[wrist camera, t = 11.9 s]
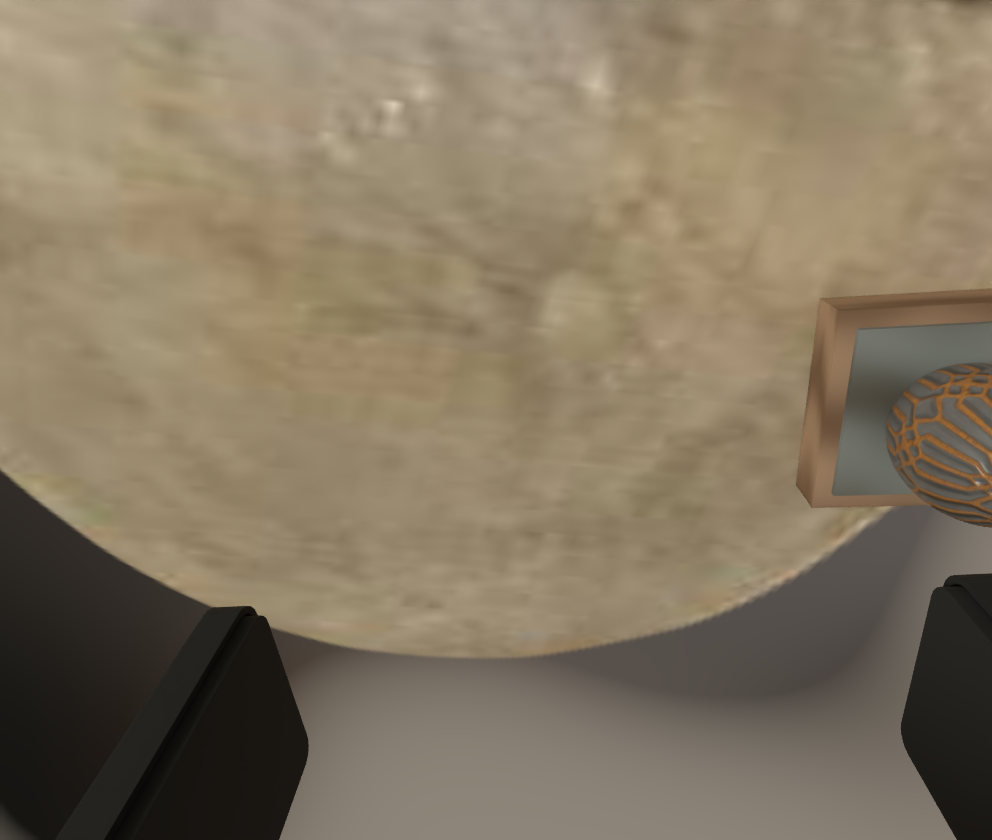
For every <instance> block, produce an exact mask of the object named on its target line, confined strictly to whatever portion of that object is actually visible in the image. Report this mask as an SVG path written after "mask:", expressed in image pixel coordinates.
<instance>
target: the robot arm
mask: <svg viewBox="0 0 992 840" xmlns="http://www.w3.org/2000/svg"><path fill="white" fill-rule="evenodd" d="M901 735H902V739H903V743H904V746H905V748H906V751H907V753H908V755H909V757H910V758H911V760H912V762H913V764H914V765H915V767H916V769H917V771H918V772H919V774H920V776H921V778H922V779H923V781H924V783H925V785H926V786H927V788H928V790H929V792H930V794H931V795H932V797H933V799H934V801H935V802H936V804H937V806H938V808H939V809H940V811H941V813H942V814H943V816H944V818H945V820H946V821H947V823H948V825H949V827H950V829H951V830H952V832H953V834H954V836H955V837H956V839H957V840H992V574H971V575H953V576H950V577H948V578H947V579H946V581H945V583H944V585H943V587H937V588H936V589H935V590H934V591H933V593H932V595H931V600H930V604H929V608H928V612H927V617H926V621H925V625H924V629H923V634H922V638H921V642H920V647H919V650H918V655H917V659H916V663H915V667H914V671H913V676H912V680H911V684H910V688H909V693H908V697H907V701H906V705H905V709H904V714H903V718H902V722H901ZM308 747H309V746H308V737H307V734H306V731H305V728H304V725H303V722H302V719H301V716H300V713H299V710H298V708H297V705H296V702H295V699H294V696H293V693H292V690H291V687H290V684H289V682H288V679H287V676H286V673H285V670H284V667H283V664H282V661H281V658H280V655H279V652H278V650H277V647H276V644H275V641H274V638H273V635H272V632H271V629H270V626H269V623H268V621H267V619H266V618H265V617H264V616H258V615H257V613H256V611H255V609H254V608H252V607H251V606H237V607H214V608H211V609H209V610H208V611H207V612H206V613H205V614H204V615H203V617H202V618H201V620H200V621H199V623H198V624H197V626H196V627H195V629H194V630H193V632H192V633H191V635H190V637H189V638H188V640H187V641H186V643H185V644H184V646H183V647H182V649H181V650H180V652H179V653H178V655H177V656H176V658H175V659H174V661H173V662H172V664H171V665H170V667H169V668H168V670H167V671H166V673H165V674H164V676H163V677H162V679H161V680H160V682H159V683H158V685H157V686H156V688H155V689H154V691H153V693H152V694H151V695H150V697H149V698H148V700H147V702H146V703H145V705H144V706H143V708H142V709H141V711H140V712H139V714H138V715H137V717H136V718H135V720H134V721H133V723H132V724H131V726H130V727H129V729H128V730H127V732H126V733H125V735H124V737H123V738H122V739H121V741H120V742H119V744H118V745H117V747H116V748H115V750H114V752H113V753H112V754H111V756H110V757H109V759H108V760H107V762H106V763H105V765H104V767H103V768H102V769H101V771H100V773H99V774H98V776H97V777H96V779H95V780H94V782H93V783H92V785H91V786H90V788H89V789H88V791H87V792H86V794H85V795H84V797H83V798H82V800H81V802H80V803H79V804H78V806H77V807H76V809H75V810H74V812H73V813H72V815H71V816H70V818H69V819H68V821H67V822H66V824H65V825H64V827H63V829H62V830H61V831H60V833H59V835H58V836H57V838H56V839H55V840H279V838H280V835H281V832H282V830H283V827H284V824H285V821H286V819H287V816H288V813H289V810H290V807H291V804H292V802H293V799H294V796H295V793H296V790H297V788H298V785H299V782H300V779H301V776H302V774H303V770H304V768H305V765H306V761H307V757H308Z"/></svg>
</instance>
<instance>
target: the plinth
mask: <svg viewBox="0 0 992 840" xmlns="http://www.w3.org/2000/svg"><path fill="white" fill-rule="evenodd" d="M966 363H987V364H992V289H979V290H961V291H944V292H926V293H909V294H891V295H874V296H856V297H839V298H821V299H820V301H819V309H818V317H817V325H816V333H815V341H814V348H813V356H812V364H811V372H810V380H809V388H808V395H807V403H806V411H805V419H804V427H803V434H802V442H801V450H800V458H799V466H798V474H797V481H796V486H797V487H798V488H799V490H800V491H801V493H802V494H803V496H804V497H805V499H806V500H807V501H808V503H809V504H810V506H811V507H812V508H825V507H865V506H906V505H928V504H927V503H925V502H924V501H923V500H921V499H920V498H919V497H918V496H917V495H916V494H915V493H914V492H912V490H911V489H910V488H909V487H908V486H907V485H906V484H905V483H904V481H903V480H902V479H901V477H900V476H899V475H898V473H897V472H896V470H895V468H894V466H893V464H892V462H891V459H890V457H889V454H888V450H887V445H886V423H887V419H888V416H889V413H890V411H891V409H892V407H893V405H894V404H895V402H896V401H897V399H898V398H899V396H900V395H901V394H902V393H903V392H904V391H905V390H906V389H907V388H908V387H909V386H910V385H911V384H912V383H914V382H915V381H917V380H918V379H920V378H921V377H923V376H925V375H926V374H928V373H930V372H933V371H935V370H937V369H940V368H943V367H947V366H951V365H957V364H966Z"/></svg>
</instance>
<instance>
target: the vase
mask: <svg viewBox="0 0 992 840" xmlns="http://www.w3.org/2000/svg"><path fill="white" fill-rule="evenodd" d="M886 445H887V450H888V454H889V457H890V459H891V462H892V464H893V466H894V468H895V470H896V472H897V473H898V475H899V476H900V477H901V479H902V480H903V481H904V483H905V484H906V485H907V486H908V487H909V488H910V489H911V490H912V492H914V493H915V494H916V495H917V496H918V497H919V498H920V499H921V500H923V501H924V502H925V503H927V504H928V505H930V506H931V507H933V508H934V509H936V510H938V511H940V512H942V513H944V514H946V515H948V516H950V517H953V518H955V519H957V520H960V521H963V522H966V523H969V524H973V525H978V526H983V527H990V528H992V364H987V363H966V364H957V365H951V366H947V367H943V368H940V369H937V370H935V371H933V372H930V373H928V374H926V375H925V376H923V377H921V378H920V379H918V380H917V381H915V382H914V383H912V384H911V385H910V386H909V387H908V388H907V389H906V390H905V391H904V392H903V393H902V394H901V395H900V396H899V398H898V399H897V401H896V402H895V404H894V405H893V407H892V409H891V411H890V413H889V416H888V419H887V423H886Z"/></svg>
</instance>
